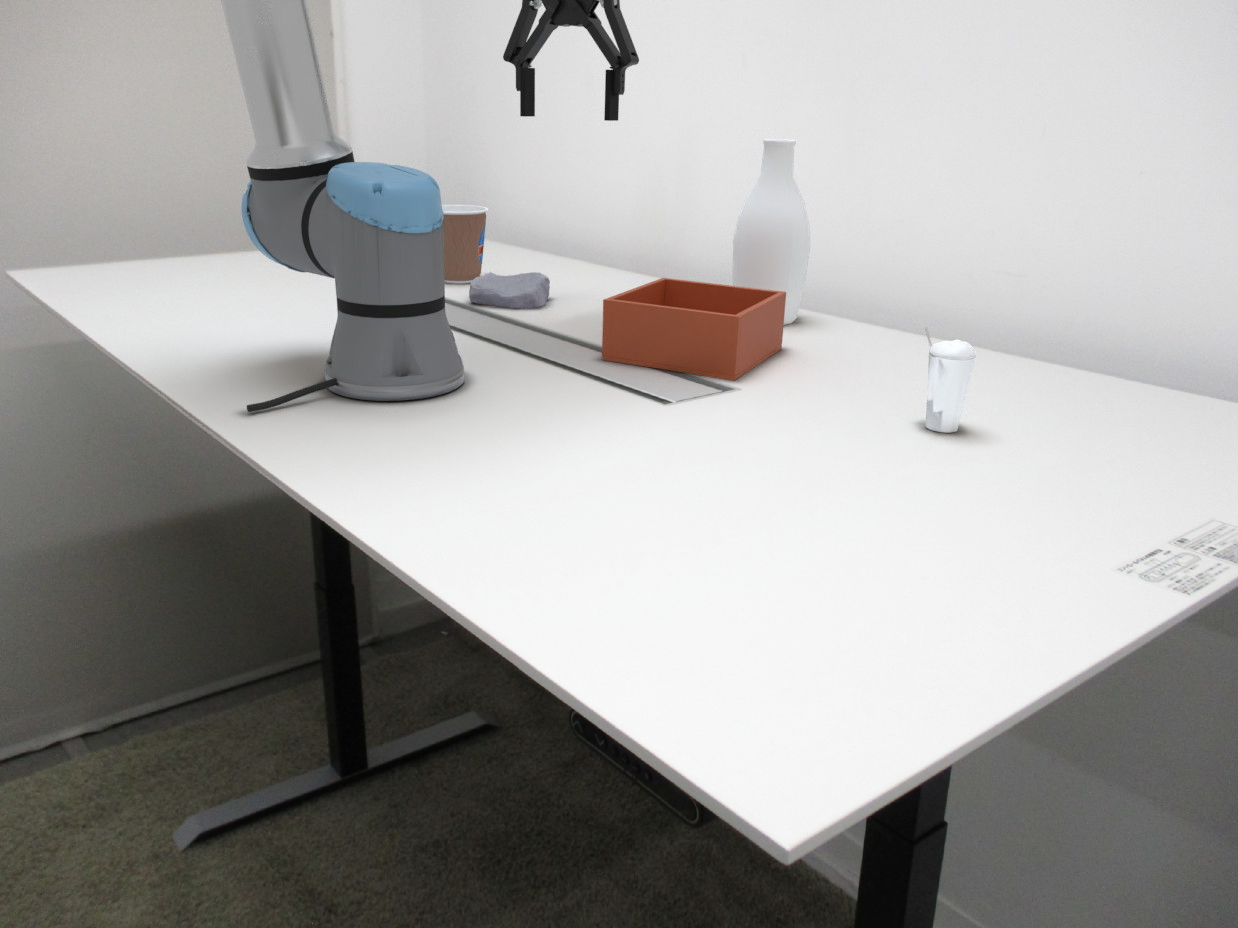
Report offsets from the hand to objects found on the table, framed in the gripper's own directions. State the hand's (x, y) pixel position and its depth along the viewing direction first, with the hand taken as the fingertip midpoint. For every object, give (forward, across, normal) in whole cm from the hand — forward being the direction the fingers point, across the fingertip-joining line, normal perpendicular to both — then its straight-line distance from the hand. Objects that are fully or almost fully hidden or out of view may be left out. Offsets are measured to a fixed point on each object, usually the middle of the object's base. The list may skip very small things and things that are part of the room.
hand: (568, 119), depth 142 cm
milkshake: (+28, -60, +27) cm, 71 cm away
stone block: (+28, +10, 0) cm, 30 cm away
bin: (+27, -27, +13) cm, 40 cm away
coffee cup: (+28, +28, -11) cm, 41 cm away
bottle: (+27, -27, -12) cm, 41 cm away
